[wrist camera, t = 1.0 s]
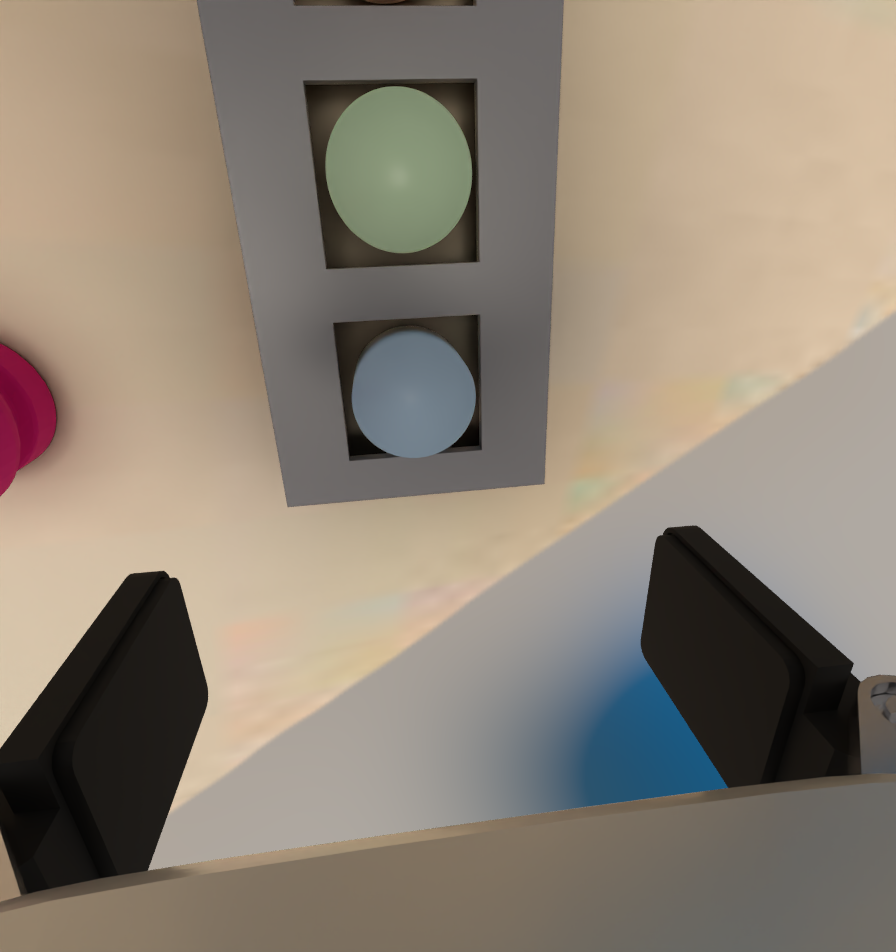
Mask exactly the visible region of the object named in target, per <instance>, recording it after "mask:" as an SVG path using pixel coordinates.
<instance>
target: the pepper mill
mask: <svg viewBox="0 0 896 952" xmlns="http://www.w3.org/2000/svg"><path fill="white" fill-rule="evenodd" d="M55 428H56V410H55V404H54V401H53V398H52V396H51V393H50V391H49V389H48V387H47V385H46V383H45V382H44V381H43V379H42V378H41V377H40V375H39V374H38V373H37V371H36V370H35V369H34V368H33V367H32V366H31V365H30V364H29V363H28V362H27V361H26V360H24V359H23V358H22V357H21V356H19V355H18V354H17V353H16V352H14V351H13V350H11V349H9V348H8V347H6V346H4V345H2V344H0V496H1V495H2V494H3V493H4V492H5V491H6V490H7V489H8V487H9V486H10V484H11V483H12V481H13V479H14V478H15V475H16V472H17V471H18V470H19V469H21V468H22V467H24V466H25V465H27V464H28V463H30V462H31V461H33V460H34V459H36V458H37V457H38V456H40V455H41V454H42V453H43V452H44V451H45V450H46V448H47V447H48V446H49V444H50V442H51V440H52V438H53V436H54V432H55Z"/></svg>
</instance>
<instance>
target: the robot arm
mask: <svg viewBox="0 0 896 952" xmlns="http://www.w3.org/2000/svg"><path fill="white" fill-rule="evenodd" d="M641 649H642V653H643V655H644V658H645V659H646V661H647V663H648V664H649V666H650V667H651V669H652V670H653V672H654V673H655V675H656V677H657V678H658V680H659V681H660V683H661V684H662V686H663V687H664V689H665V690H666V692H667V694H668V695H669V696H670V698H671V699H672V701H673V703H674V704H675V706H676V707H677V709H678V710H679V712H680V714H681V715H682V717H683V718H684V720H685V721H686V723H687V724H688V726H689V728H690V729H691V731H692V732H693V734H694V735H695V737H696V738H697V740H698V741H699V743H700V745H701V746H702V747H703V749H704V751H705V752H706V754H707V755H708V757H709V759H710V760H711V762H712V763H713V765H714V766H715V768H716V769H717V771H718V772H719V774H720V775H721V777H722V778H723V780H724V782H725V783H726V785H727V786H728V788H725V789H718V790H710V791H703V792H696V793H689V794H680V795H673V796H665V797H658V798H650V799H643V800H635V801H628V802H620V803H613V804H605V805H599V806H590V807H583V808H575V809H568V810H561V811H554V812H547V813H540V814H532V815H525V816H518V817H511V818H503V819H496V820H489V821H482V822H475V823H467V824H460V825H453V826H446V827H439V828H432V829H425V830H417V831H411V832H403V833H396V834H389V835H382V836H375V837H368V838H361V839H355V840H348V841H341V842H334V843H327V844H320V845H313V846H307V847H299V848H293V849H286V850H279V851H273V852H265V853H259V854H252V855H244V856H238V857H231V858H224V859H217V860H211V861H205V862H198V863H193V864H186V865H180V866H174V867H168V868H162V869H156V870H150V871H148V868H149V865H150V863H151V860H152V857H153V854H154V852H155V849H156V846H157V843H158V840H159V838H160V835H161V832H162V829H163V827H164V824H165V821H166V818H167V815H168V813H169V810H170V807H171V804H172V802H173V799H174V796H175V793H176V790H177V788H178V785H179V782H180V779H181V777H182V774H183V771H184V768H185V765H186V763H187V760H188V757H189V754H190V752H191V749H192V746H193V743H194V741H195V738H196V735H197V732H198V729H199V727H200V724H201V721H202V718H203V716H204V713H205V710H206V707H207V702H208V687H207V683H206V679H205V675H204V672H203V668H202V664H201V660H200V657H199V653H198V649H197V645H196V642H195V638H194V634H193V630H192V627H191V623H190V619H189V615H188V612H187V608H186V604H185V600H184V597H183V593H182V589H181V585H180V583H179V581H178V579H177V578H169V575H168V574H167V573H166V572H165V571H157V572H145V573H133V574H130V575H129V576H127V577H126V579H125V580H124V581H123V583H122V584H121V586H120V587H119V588H118V590H117V591H116V592H115V594H114V595H113V596H112V598H111V599H110V600H109V602H108V603H107V605H106V606H105V607H104V609H103V610H102V611H101V613H100V614H99V615H98V617H97V618H96V619H95V621H94V622H93V624H92V625H91V626H90V628H89V629H88V630H87V632H86V633H85V634H84V636H83V637H82V638H81V640H80V641H79V643H78V644H77V645H76V647H75V648H74V649H73V651H72V652H71V653H70V655H69V656H68V657H67V659H66V660H65V662H64V663H63V664H62V666H61V667H60V668H59V670H58V671H57V672H56V674H55V675H54V676H53V678H52V679H51V681H50V682H49V683H48V685H47V686H46V687H45V689H44V690H43V691H42V693H41V694H40V695H39V697H38V698H37V700H36V701H35V702H34V704H33V705H32V706H31V708H30V709H29V710H28V712H27V713H26V714H25V716H24V717H23V719H22V720H21V721H20V723H19V724H18V725H17V727H16V728H15V729H14V731H13V732H12V733H11V735H10V736H9V738H8V739H7V740H6V742H5V743H4V744H3V746H2V747H1V748H0V952H896V676H892V675H876V676H871V677H867V678H866V679H865V680H863V681H862V682H860V681H859V680H858V679H857V678H856V677H855V676H853V674H851V670H852V667H853V664H854V663H853V662H852V661H850V660H849V659H848V658H847V657H846V656H845V655H844V654H843V653H841V652H840V651H839V650H838V649H837V648H836V647H835V646H833V645H832V644H831V643H830V642H829V641H828V640H827V639H826V638H824V637H823V636H822V635H821V634H820V633H819V632H818V631H816V630H815V629H814V628H813V627H812V626H811V625H810V624H809V623H807V622H806V621H805V620H804V619H803V618H802V617H800V616H799V615H798V614H797V613H796V612H795V611H794V610H792V608H790V607H789V606H788V605H787V604H786V603H785V602H784V601H782V600H781V599H780V598H779V597H778V596H777V595H776V594H775V593H773V592H772V591H771V590H770V589H769V588H768V587H767V586H765V585H764V584H763V583H762V582H761V581H760V580H759V579H757V578H756V577H755V576H754V575H753V574H752V573H751V572H750V571H748V570H747V569H746V568H745V567H744V566H743V565H742V564H741V563H739V562H738V561H737V560H736V559H735V558H734V557H732V556H731V555H730V554H729V553H728V552H727V551H726V550H725V549H724V548H722V547H721V546H720V545H719V544H718V543H717V542H716V541H714V540H713V539H712V538H711V537H710V536H709V535H708V534H707V533H705V532H704V531H703V530H702V529H701V528H699V527H698V526H684V527H683V526H682V527H671V528H667V529H666V530H665V531H664V533H663V535H660V536H658V537H657V539H656V543H655V549H654V555H653V562H652V568H651V575H650V582H649V588H648V595H647V602H646V609H645V615H644V622H643V630H642V635H641Z"/></svg>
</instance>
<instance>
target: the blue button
mask: <svg viewBox="0 0 896 952" xmlns="http://www.w3.org/2000/svg"><path fill="white" fill-rule="evenodd" d="M475 402H476V392H475V385H474V381H473V378H472V375H471V373H470V371H469V369H468V367H467V365H466V364H465V363H464V361H463V360H462V359H461V357H460V356H459V354H458V353H457V352H456V350H455V349H454V347H453V346H452V345H451V344H450V343H449V342H448V341H447V340H446V339H445V338H444V337H443V336H441V335H440V334H438V333H436V332H435V331H432V330H430V329H427V328H424V327H420V326H399V327H395V328H391V329H389V330H386V331H384V332H382V333H381V334H379V335H377V336H376V337H375V338H374V339H372V340H371V341H370V342H369V343H368V344H367V346H366V347H365V348H364V350H363V351H362V353H361V355H360V356H359V359H358V361H357V364H356V368H355V373H354V381H353V389H352V407H353V413H354V416H355V419H356V421H357V423H358V425H359V428H360V429H361V431H362V432H363V434H364V435H365V436H366V437H367V438H368V439H369V440H370V441H371V442H372V443H373V444H374V445H375V446H377V447H378V448H380V449H381V450H383V451H385V452H387V453H390V454H393V455H395V456H400V457H406V458H421V457H427V456H430V455H434V454H436V453H439V452H441V451H443V450H445V449H447V448H448V447H450V446H451V445H452V444H454V443H455V442H456V441H457V440H458V439H459V438H460V437H461V436H462V434H463V433H464V432H465V430H466V429H467V427H468V425H469V423H470V421H471V419H472V416H473V413H474V409H475Z"/></svg>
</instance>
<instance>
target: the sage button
mask: <svg viewBox="0 0 896 952" xmlns="http://www.w3.org/2000/svg"><path fill="white" fill-rule="evenodd" d="M325 168H326V179H327V185H328V190H329V193H330V196H331V199H332V202H333V204H334V206H335V208H336V210H337V212H338V214H339V216H340V217H341V219H342V220H343V221H344V223H345V224H346V225H347V227H348V228H349V229H350V230H351V231H352V232H353V233H354V234H355V235H357V236H358V237H359V238H360V239H361V240H363V241H365V242H366V243H368V244H369V245H371V246H373V247H376V248H378V249H381V250H384V251H387V252H393V253H411V252H417V251H420V250H424V249H426V248H428V247H431V246H433V245H434V244H436V243H438V242H439V241H441V240H442V239H443V238H444V237H446V236H447V235H448V234H449V233H450V232H451V230H452V229H453V228H454V227H455V225H456V224H457V223H458V221H459V220H460V218H461V216H462V214H463V213H464V210H465V208H466V205H467V203H468V199H469V195H470V191H471V184H472V164H471V157H470V152H469V148H468V145H467V142H466V139H465V137H464V134H463V132H462V130H461V128H460V127H459V125H458V123H457V121H456V120H455V119H454V117H453V116H452V115H451V114H450V112H449V111H448V110H447V109H446V108H445V107H444V106H443V105H442V104H441V103H439V102H438V101H437V100H435V99H434V98H432V97H431V96H429V95H427V94H425V93H423V92H421V91H418V90H416V89H412V88H408V87H400V86H391V87H383V88H379V89H375V90H372V91H370V92H368V93H366V94H364V95H362V96H361V97H359V98H358V99H356V100H355V101H354V102H353V103H352V104H350V105H349V106H348V107H347V108H346V110H345V111H344V112H343V113H342V114H341V116H340V118H339V119H338V121H337V122H336V124H335V126H334V128H333V131H332V133H331V136H330V139H329V142H328V147H327V152H326V163H325Z"/></svg>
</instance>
